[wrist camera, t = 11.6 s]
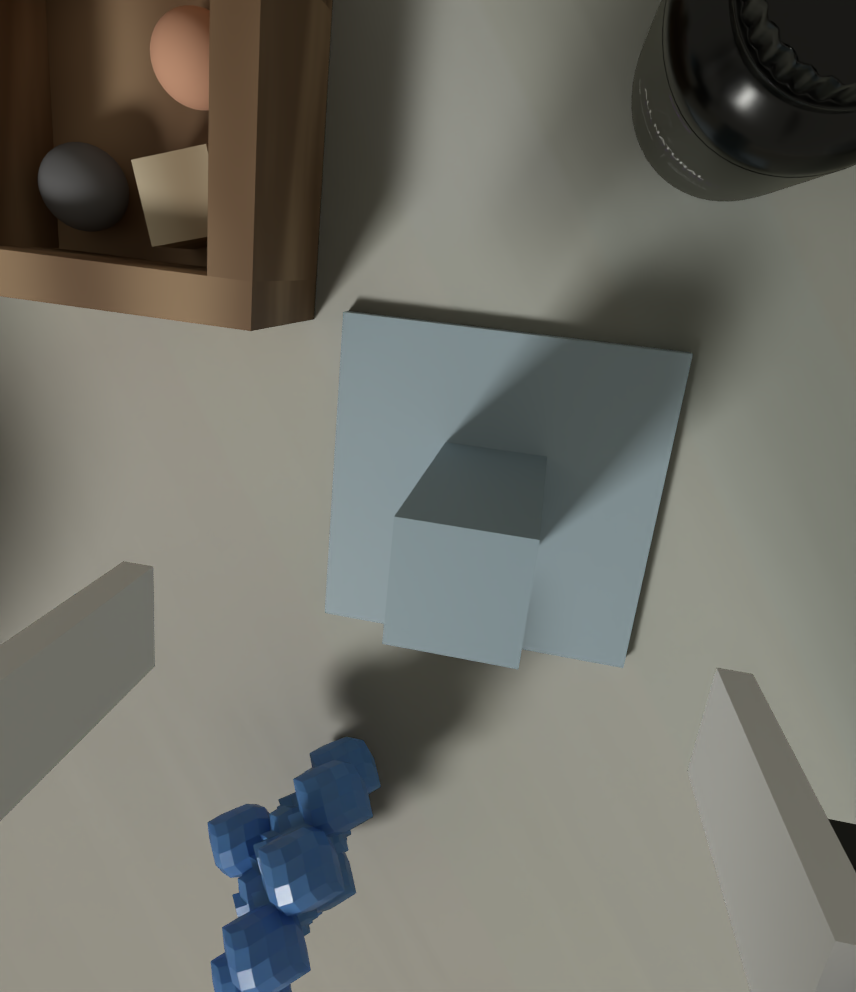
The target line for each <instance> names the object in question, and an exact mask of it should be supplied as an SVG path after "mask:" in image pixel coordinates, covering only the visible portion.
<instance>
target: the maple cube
mask: <svg viewBox="0 0 856 992" xmlns="http://www.w3.org/2000/svg"><path fill="white" fill-rule="evenodd" d="M131 162H132V166H133V170H134V174H135V178H136V183H137V187H138V191H139V195H140V199H141V203H142V207H143V211H144V216H145V220H146V224H147V228H148V232H149V236H150V240H151V245H152V247H163V248H179V249H197V248H202V247H207V234H208V144H203V145H198V146H193V147H189V148H184V149H179V150H175V151H170V152H165V153H161V154H156V155H152V156H147V157H142V158H138V159H133V160H131Z"/></svg>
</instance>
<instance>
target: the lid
mask: <svg viewBox="0 0 856 992" xmlns="http://www.w3.org/2000/svg"><path fill="white" fill-rule="evenodd" d="M692 356H693V354H692V353H690V352H684V351H675V350H667V349H659V348H650V347H642V346H634V345H626V344H617V343H609V342H601V341H593V340H584V339H576V338H568V337H560V336H551V335H543V334H535V333H526V332H518V331H510V330H502V329H493V328H485V327H477V326H469V325H460V324H452V323H444V322H436V321H427V320H419V319H411V318H402V317H394V316H386V315H378V314H369V313H361V312H353V311H346V312H343V326H342V343H341V359H340V375H339V391H338V408H337V424H336V440H335V457H334V473H333V489H332V506H331V522H330V538H329V555H328V571H327V587H326V603H325V613H328V614H334V615H339V616H345V617H350V618H355V619H361V620H366V621H372V622H377V623H383V624H384V631H383V642H382V644H386V645H392V646H397V647H402V648H408V649H413V650H418V651H423V652H429V653H434V654H439V655H445V656H450V657H455V658H461V659H466V660H471V661H476V662H482V663H487V664H492V665H498V666H503V667H508V668H513V669H519V663H520V657H521V650H522V649H523V650H529V651H534V652H540V653H545V654H551V655H556V656H561V657H567V658H572V659H578V660H583V661H588V662H594V663H599V664H605V665H610V666H616V667H621V668H623V667H624V662H625V658H626V653H627V649H628V644H629V640H630V635H631V631H632V626H633V622H634V617H635V613H636V608H637V604H638V599H639V595H640V590H641V586H642V581H643V577H644V572H645V568H646V563H647V559H648V554H649V550H650V545H651V541H652V536H653V532H654V527H655V523H656V518H657V514H658V509H659V505H660V500H661V495H662V491H663V486H664V482H665V477H666V473H667V468H668V464H669V459H670V455H671V450H672V446H673V441H674V437H675V432H676V428H677V423H678V419H679V414H680V410H681V405H682V401H683V396H684V392H685V387H686V383H687V378H688V374H689V369H690V365H691V360H692Z"/></svg>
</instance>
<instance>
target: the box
mask: <svg viewBox="0 0 856 992" xmlns="http://www.w3.org/2000/svg"><path fill="white" fill-rule="evenodd" d="M332 2H333V0H0V296H3V297H10V298H18V299H25V300H32V301H39V302H46V303H54V304H61V305H68V306H75V307H82V308H90V309H97V310H104V311H111V312H118V313H126V314H133V315H140V316H147V317H154V318H162V319H169V320H176V321H183V322H190V323H198V324H205V325H212V326H219V327H226V328H234V329H241V330H248V331H253V330H258V329H264V328H269V327H274V326H280V325H285V324H291V323H296V322H301V321H307V320H312V319H314V311H315V294H316V277H317V260H318V243H319V226H320V208H321V191H322V174H323V157H324V140H325V123H326V105H327V88H328V71H329V54H330V37H331V20H332ZM185 5H194V6H199V7H203V8H206V9H208V10H210V31H209V110H195V109H192V108H189V107H186V106H184V105H182V104H181V103H179V102H177V101H176V100H175V99H173V98H172V97H171V96H170V95H169V94H168V93H167V92H166V91H165V90H164V88H163V87H162V85H161V84H160V82H159V81H158V79H157V77H156V75H155V72H154V70H153V66H152V63H151V58H150V41H151V36H152V32H153V30H154V27H155V26H156V24H157V22H158V21H159V19H160V18H161V17H162V16H163V15H164V14H165V13H167V12H168V11H170V10H172V9H174V8H176V7H179V6H185ZM68 142H83V143H88V144H91V145H94V146H96V147H98V148H100V149H102V150H103V151H105V152H106V153H108V154H109V155H110V156H111V157H112V158H113V159H114V160H115V161H116V162H117V163H118V164H119V166H120V167H121V169H122V170H123V172H124V174H125V176H126V179H127V182H128V186H129V203H128V207H127V210H126V212H125V214H124V215H123V217H122V218H121V219H120V221H118V222H117V223H116V224H115V225H113V226H112V227H110V228H108V229H105V230H101V231H96V232H88V231H82V230H77V229H75V228H72V227H70V226H68V225H66V224H64V223H63V222H61V221H60V220H59V219H57V218H56V217H55V216H54V215H53V214H52V213H51V212H50V210H49V209H48V208H47V206H46V205H45V203H44V201H43V199H42V197H41V194H40V191H39V187H38V171H39V167H40V164H41V162H42V160H43V158H44V157H45V156H46V154H47V153H48V152H49V151H50V150H52V149H53V148H55V147H56V146H58V145H61V144H64V143H68ZM203 144H208V234H207V247H202V248H197V249H179V248H163V247H152V245H151V240H150V236H149V232H148V228H147V224H146V220H145V216H144V211H143V207H142V203H141V199H140V195H139V191H138V187H137V183H136V178H135V174H134V170H133V166H132V162H131V160H133V159H138V158H142V157H147V156H152V155H156V154H161V153H165V152H170V151H175V150H179V149H184V148H189V147H193V146H198V145H203Z"/></svg>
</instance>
